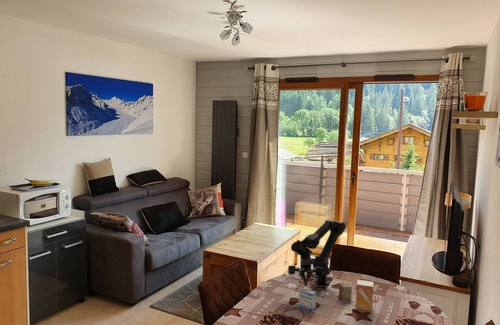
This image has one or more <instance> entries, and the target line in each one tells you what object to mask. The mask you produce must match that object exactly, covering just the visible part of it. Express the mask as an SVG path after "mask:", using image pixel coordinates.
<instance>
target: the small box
mask: <svg viewBox="0 0 500 325" xmlns="http://www.w3.org/2000/svg"><path fill="white" fill-rule="evenodd" d="M356 281H357V282H356V293H355V294H356V295H355V309H356V310H363V311H364V310H365V311H369V312H372V310H373V301H374V299H373V298H374V297H373V296H374V285H375V284H374V281H368V280H361V279H357V280H356Z"/></svg>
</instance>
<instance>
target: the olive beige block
mask: <svg viewBox="0 0 500 325" xmlns="http://www.w3.org/2000/svg"><path fill="white" fill-rule="evenodd" d="M352 293H353V286H352V285H351V284H350V283H349V282H339V284H338V296H339V297H340V298H341V300H343V301H344V300H345V301H346V300H352V295H353V294H352Z"/></svg>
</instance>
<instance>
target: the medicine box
mask: <svg viewBox="0 0 500 325" xmlns="http://www.w3.org/2000/svg"><path fill="white" fill-rule="evenodd" d="M298 307H299V308H300V309H306V310H309V311H314V310H315V309H316V307H317V291H316V290H311V289H307V288H303V287H302V288H301V289H300V290H299V291H298Z"/></svg>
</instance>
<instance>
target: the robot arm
mask: <svg viewBox="0 0 500 325" xmlns="http://www.w3.org/2000/svg"><path fill="white" fill-rule="evenodd" d="M346 229H347V228H346V224H345V222H343V221H339V220H336V219H335V220H330V219H326V220H325V221H324V223H323V224H322V225H321V226H319V227H318V229H316V230H315V232H313V233H311V234H308V235H306V236H305V237H304V238H303V239H302V240H299V239H297V240H296V241H294V242H293V243H291V246H290V248H291V251H293V252H294V253H295V254H297V255H298V256H299V257H300V258H299V261H300V263H299V265H300V266H299V267H296V265H288V268H287V269H288V270H287V273H288V275H296V272H298V277H300V278H301V280H302V282H303V285H304V287H307V285H308V283H309V280H310V279H311V278H312V277H313V274H314V275H315V276H316V279H314V282H315V283H316V285H318V286H319V285H321V286H323V285H329V284H330V283H329V281H327V280H328V279H327V278H328V276H330V274H331V271H332V269H330V267H329V264H330V263H329V258H330V255H331V253H332V251H333V250H334V247H335V244H336V242H337V240H338V238H339V237H340V236H341V235H343V233H344V232H345V230H346ZM328 232H329V236H328V237H327V239H326V241H325V244H324V246H323V248H322V250H321V253H320V254H319V255H315V257H312V255H311V254H313V251H312V250H315V249H317V247H318V246H319V244H320V241H321V239H322V238H324V237H325V235H326V234H328ZM311 249H312V250H311ZM305 273H306V274H305Z"/></svg>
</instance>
